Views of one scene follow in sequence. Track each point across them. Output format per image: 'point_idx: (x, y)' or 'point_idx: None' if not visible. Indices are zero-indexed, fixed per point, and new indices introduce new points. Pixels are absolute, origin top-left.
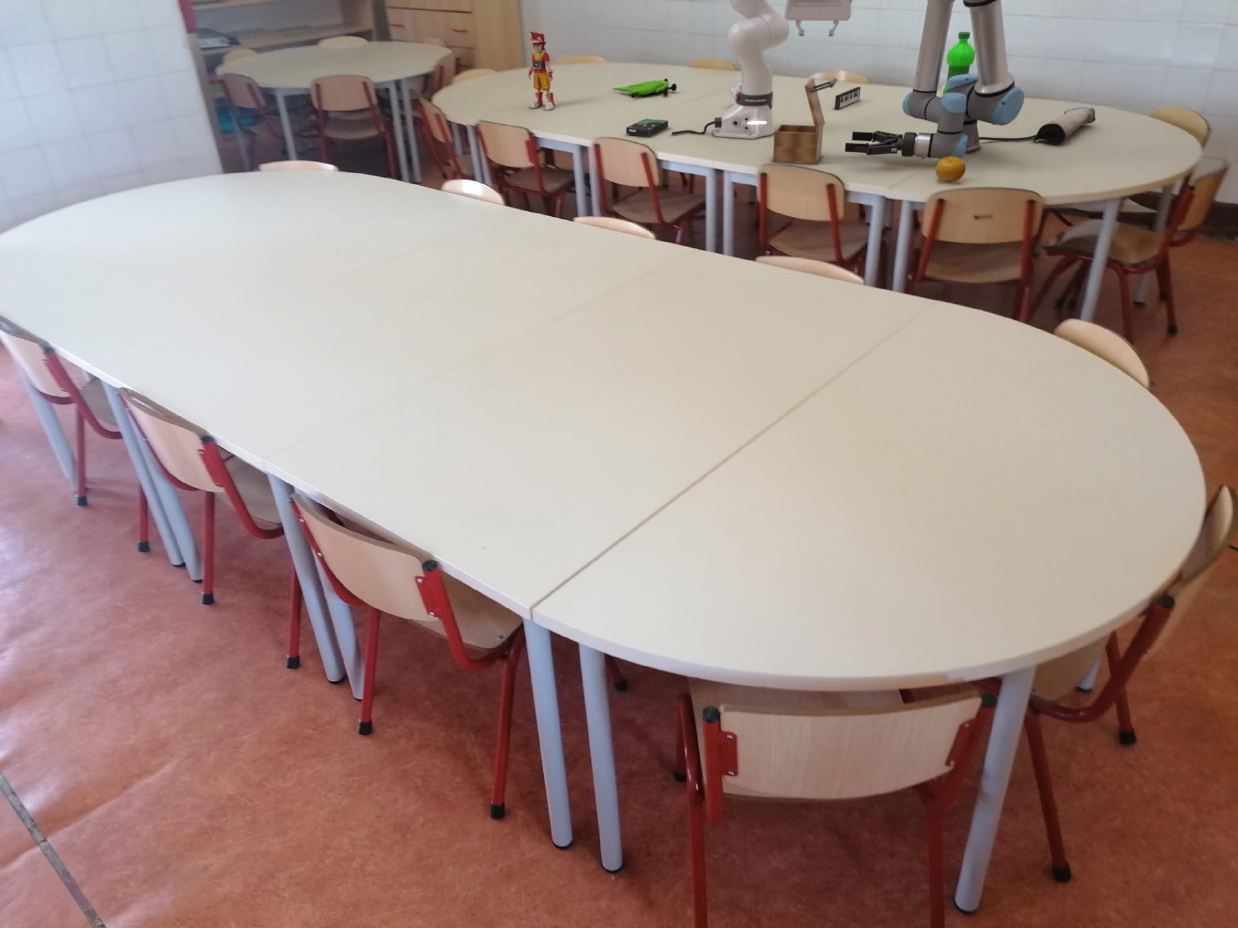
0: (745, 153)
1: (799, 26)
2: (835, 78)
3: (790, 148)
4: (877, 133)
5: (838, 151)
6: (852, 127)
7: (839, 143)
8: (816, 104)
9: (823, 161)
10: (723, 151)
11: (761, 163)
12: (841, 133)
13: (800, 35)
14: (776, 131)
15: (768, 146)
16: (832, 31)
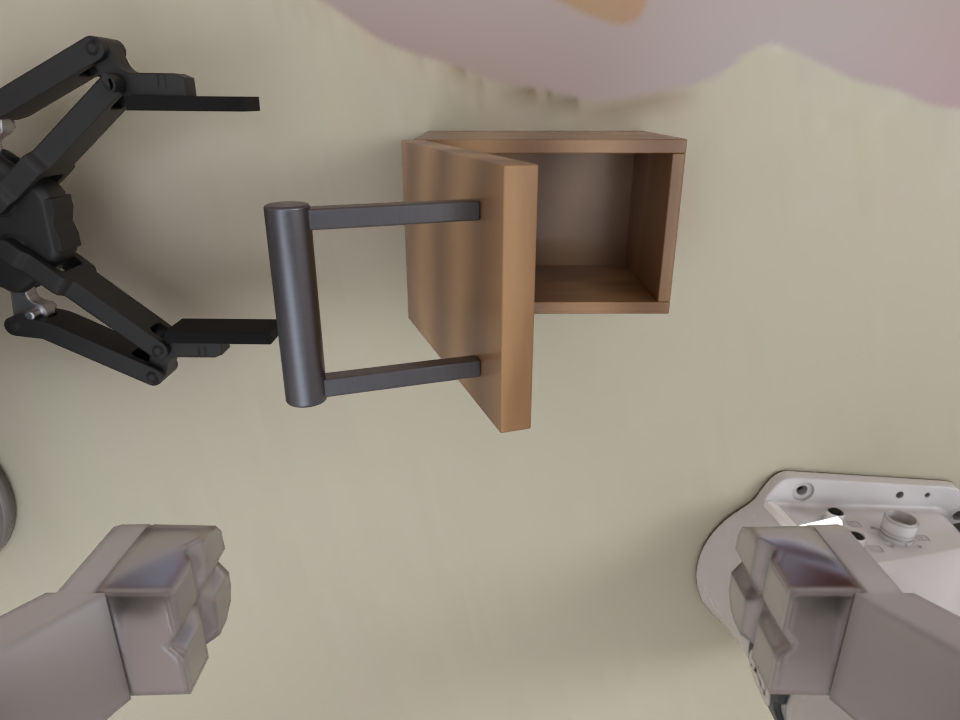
0: (797, 255)
1: (944, 687)
2: (296, 399)
3: (567, 134)
4: (139, 336)
5: (370, 360)
6: (392, 677)
7: (394, 473)
8: (443, 256)
9: (402, 192)
10: (909, 269)
11: (699, 99)
12: (417, 601)
13: (804, 531)
14: (675, 149)
15: (698, 382)
16: (96, 584)
